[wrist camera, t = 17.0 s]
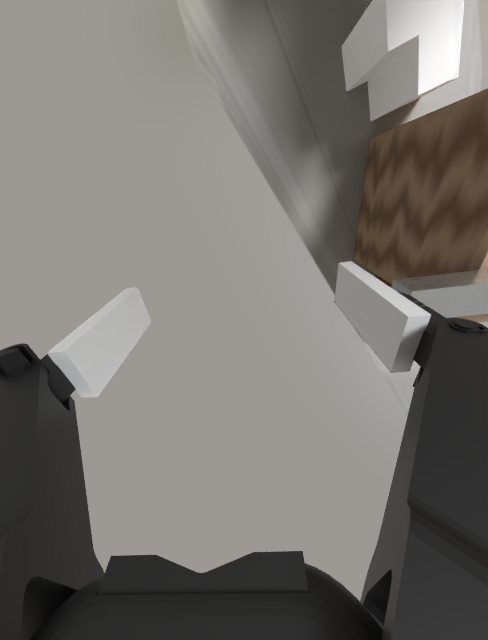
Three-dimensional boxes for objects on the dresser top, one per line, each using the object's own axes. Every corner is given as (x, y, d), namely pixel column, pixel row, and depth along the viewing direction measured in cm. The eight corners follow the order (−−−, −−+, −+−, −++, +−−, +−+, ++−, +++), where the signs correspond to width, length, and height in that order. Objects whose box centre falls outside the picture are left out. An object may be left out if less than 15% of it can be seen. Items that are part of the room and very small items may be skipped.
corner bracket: (341, 46, 32) (385, -19, 22) (422, 0, 30) (512, -98, 20) (350, 131, 38) (390, 109, 27) (420, 97, 35) (492, 59, 25)
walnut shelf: (370, 138, 38) (581, 48, 14) (441, 126, 37) (793, 11, 13) (353, 259, 49) (453, 324, 25) (406, 253, 49) (563, 313, 25)
